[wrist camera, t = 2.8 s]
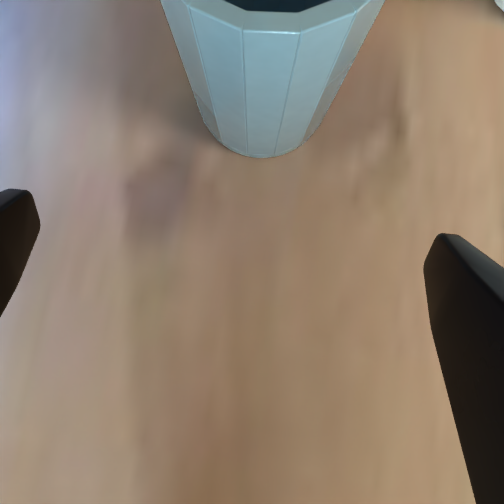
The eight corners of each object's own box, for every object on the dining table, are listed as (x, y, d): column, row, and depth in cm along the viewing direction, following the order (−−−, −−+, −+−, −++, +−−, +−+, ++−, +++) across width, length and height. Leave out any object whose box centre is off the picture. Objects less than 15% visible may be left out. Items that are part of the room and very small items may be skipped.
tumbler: (346, 131, 22) (469, -30, 10) (224, 177, 22) (189, 75, 10) (300, 10, 22) (363, -307, 10) (178, 55, 22) (84, -203, 10)
